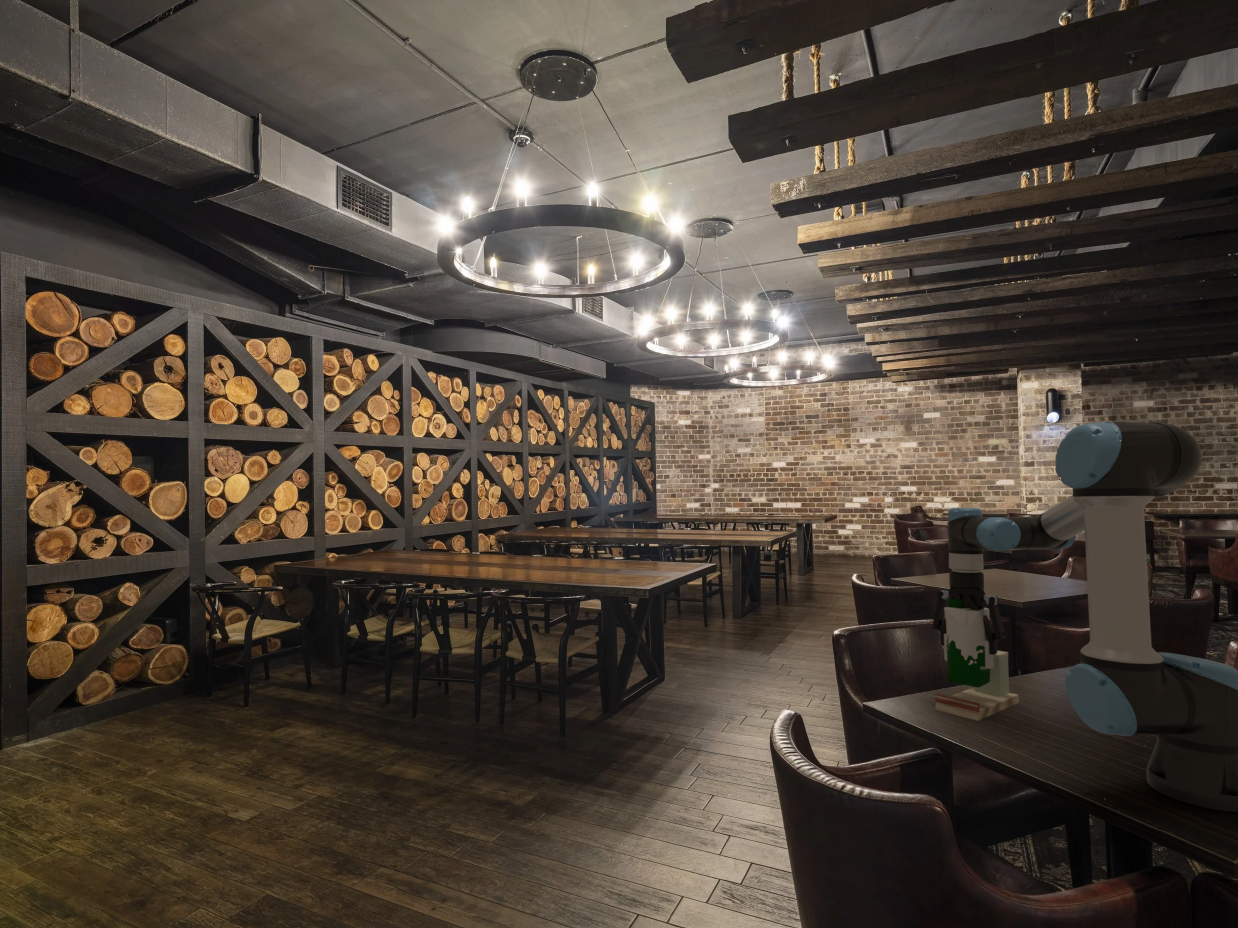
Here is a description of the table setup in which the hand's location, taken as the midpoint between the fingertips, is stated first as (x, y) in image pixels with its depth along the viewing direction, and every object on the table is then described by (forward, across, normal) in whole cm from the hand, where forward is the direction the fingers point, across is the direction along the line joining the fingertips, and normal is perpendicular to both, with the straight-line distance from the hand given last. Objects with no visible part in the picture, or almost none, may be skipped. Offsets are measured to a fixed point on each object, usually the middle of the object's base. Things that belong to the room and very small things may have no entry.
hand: (968, 663), depth 161 cm
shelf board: (+11, 0, -4) cm, 12 cm away
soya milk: (+5, 0, 0) cm, 5 cm away
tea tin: (+9, 0, -12) cm, 15 cm away
